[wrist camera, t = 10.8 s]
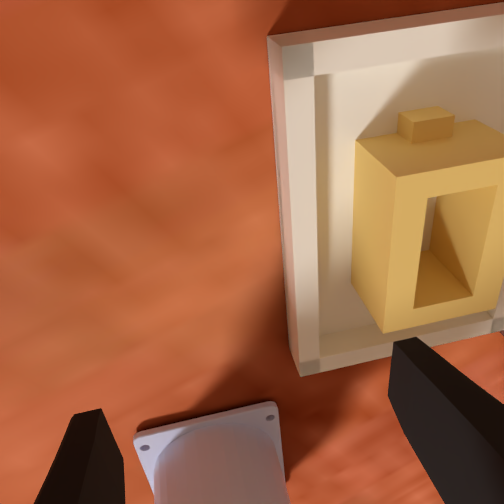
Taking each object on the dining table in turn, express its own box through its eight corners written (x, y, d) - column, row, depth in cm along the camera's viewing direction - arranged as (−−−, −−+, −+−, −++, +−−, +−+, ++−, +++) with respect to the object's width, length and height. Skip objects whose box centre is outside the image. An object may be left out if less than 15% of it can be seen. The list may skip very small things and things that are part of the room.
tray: (484, 304, 26) (507, 329, 24) (289, 347, 24) (300, 377, 23) (559, -7, 17) (603, -1, 16) (266, 36, 16) (281, 46, 14)
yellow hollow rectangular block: (355, 119, 18) (398, 154, 15) (478, 98, 18) (543, 128, 15) (350, 295, 22) (381, 347, 20) (447, 275, 23) (491, 322, 20)
